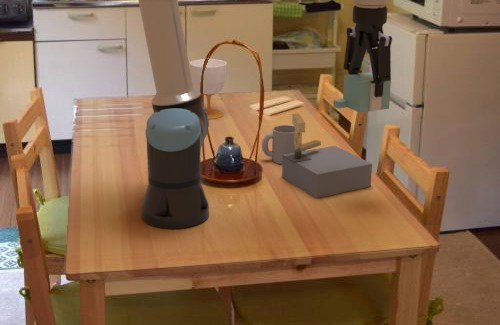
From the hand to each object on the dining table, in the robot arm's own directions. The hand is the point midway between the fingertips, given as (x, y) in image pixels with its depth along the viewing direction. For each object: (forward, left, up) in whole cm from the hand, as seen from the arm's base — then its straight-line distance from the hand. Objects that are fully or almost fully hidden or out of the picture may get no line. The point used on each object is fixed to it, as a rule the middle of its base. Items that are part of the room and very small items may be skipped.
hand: (364, 105), depth 186 cm
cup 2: (-3, +32, -23) cm, 40 cm away
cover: (-1, 0, 0) cm, 1 cm away
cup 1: (-1, +80, -23) cm, 83 cm away
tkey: (-4, +17, -17) cm, 24 cm away
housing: (-1, +13, -23) cm, 26 cm away
